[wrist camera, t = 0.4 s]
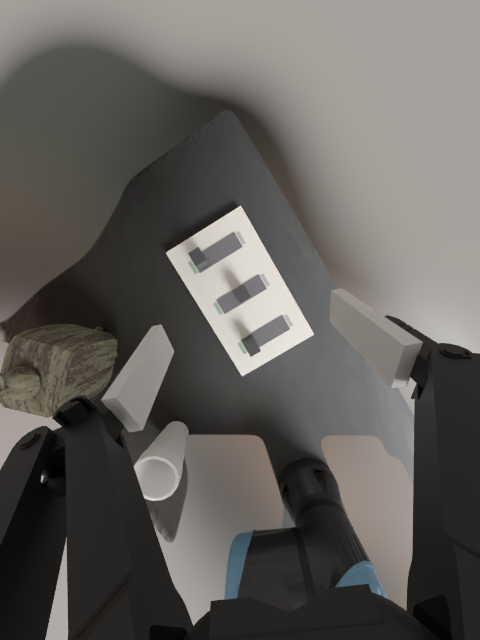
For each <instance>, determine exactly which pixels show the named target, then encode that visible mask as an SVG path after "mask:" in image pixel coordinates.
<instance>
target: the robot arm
mask: <svg viewBox="0 0 480 640" xmlns="http://www.w3.org/2000/svg"><path fill="white" fill-rule="evenodd" d="M330 323H331V324H332V325H333V326H334V327H335V328H336V329H337V330H338V331H339V332H340V334H341V335H342V336H343V337H344V338H345V339H346V340H347V341H348V342H349V343H350V344H351V345H352V347H353V348H354V349H355V350H356V351H357V352H358V353H359V354H360V355H361V356H362V357H363V358H364V360H365V361H366V362H367V363H368V364H369V365H370V366H371V367H372V368H373V369H374V370H375V371H376V373H377V374H378V375H379V376H380V377H381V378H382V379H383V380H384V381H385V382H386V383H387V384H388V386H389V387H390V388H397V387H402V386H407V384H408V381H409V379H410V377H411V378H412V379H413V380H414V381H415V382H416V383H417V384H416V387H415V389H414V392H413V394H412V397H411V398H412V399H414V398H415V419H414V496H413V497H414V498H413V500H414V501H413V555H412V562H411V566H410V570H409V576H408V588H407V611H406V610H404V609H403V608H402V607H400V606H398V605H397V604H395V603H394V602H392V601H391V600H389V599H387V596H386V594H385V592H384V590H383V587H382V585H381V583H380V581H379V579H378V577H377V574H376V570H375V568H374V566H373V564H372V563H371V562H370V560H369V558H368V556H367V554H366V552H365V550H364V548H363V546H362V545H361V543H360V541H359V539H358V537H357V535H356V533H355V531H354V529H353V527H352V525H351V523H350V521H349V519H348V518H347V516H346V514H345V512H344V510H343V506H342V501H341V497H340V492H339V487H338V484H337V481H336V479H335V478H334V475H333V474H332V472H331V470H330V469H329V468H328V467H327V466H326V465H325V464H323V463H321V462H319V461H316V460H311V459H305V460H300V461H297V462H295V463H293V464H291V465H290V466H289V467H287V468H286V470H285V471H284V472H283V474H282V476H281V478H280V483H279V489H280V494H281V499H282V502H283V504H284V506H285V508H286V510H287V511H288V513H289V515H290V517H291V519H292V520H293V522H294V524H295V526H296V527H294V528H281V529H271V530H258V531H256V530H252V531H250V532H245V533H239V534H237V535H236V536H235V537H234V539H233V541H232V544H231V548H230V552H229V558H228V565H227V574H226V585H225V600H217V601H211V608H210V611H209V612H207V613H206V614H205V615H204V616H203V617H202V618H201V619H199V620H198V622H197V623H196V624H195V625H194V626H193V624H192V622H191V619H190V616H189V613H188V611H187V608H186V606H185V604H184V602H183V600H182V598H181V596H180V595H179V593H178V592H177V590H176V589H175V587H174V584H173V582H172V579H171V577H170V574H169V571H168V568H167V565H166V562H165V559H164V556H163V553H162V550H161V547H160V544H159V541H158V538H157V536H156V532H155V529H154V526H153V523H152V520H151V517H150V514H149V511H148V508H147V505H146V502H145V499H144V496H143V493H142V490H141V487H140V484H139V481H138V478H137V475H136V472H135V469H134V466H133V463H132V460H131V457H130V454H129V451H128V449H127V446H126V443H125V440H124V437H123V435H122V434H121V431H122V429H123V427H125V428H126V429H127V430H128V431H129V432H134V431H140V430H143V428H144V426H145V423H146V421H147V418H148V416H149V413H150V411H151V408H152V406H153V403H154V401H155V398H156V396H157V393H158V391H159V388H160V386H161V383H162V381H163V379H164V376H165V374H166V371H167V369H168V366H169V364H170V361H171V359H172V356H173V354H174V350H173V348H172V346H171V343H170V341H169V339H168V337H167V335H166V333H165V331H164V329H163V327H162V325H156V326H152V327H151V328H150V330H149V331H148V333H147V334H146V336H145V337H144V338H143V340H142V341H141V343H140V344H139V346H138V347H137V349H136V350H135V351H134V353H133V354H132V356H131V357H130V359H129V360H128V362H127V363H126V364H125V366H122V367H121V368H120V369H119V370H118V371H117V372H115V374H114V375H113V376H112V378H111V379H110V381H109V382H108V383H107V385H106V387H105V388H104V389H103V390H102V392H101V393H100V394H99V396H98V397H97V399H96V400H95V401H94V403H92V402H91V401H90V400H89V399H88V398H87V397H86V396H85V395H80V396H76V397H74V398H72V399H70V400H68V401H67V402H65V403H64V404H63V405H62V406H61V407H59V408H58V409H57V411H56V412H55V413H54V415H53V419H54V420H55V421H56V422H58V423H59V424H60V425H61V426H62V427H61V428H58V429H56V430H54V431H52V430H51V429H49V428H48V427H47V426H42V427H39V428H36V429H34V430H32V431H31V432H29V433H27V434H26V435H25V436H23V437H22V438H21V439H20V440H19V441H18V442H17V443H16V445H15V446H14V447H13V448H12V450H11V452H10V454H9V456H8V457H7V459H6V461H5V463H4V465H3V466H2V468H1V470H0V640H45V637H46V633H47V628H48V623H49V618H50V613H51V609H52V604H53V599H54V594H55V590H56V585H57V580H58V575H59V570H60V565H61V561H62V555H63V551H64V545H65V541H66V537H67V581H68V640H480V354H477V353H472V352H470V351H469V350H467V349H465V348H462V347H460V346H457V345H453V344H446V343H439V344H438V343H436V342H435V341H433V340H432V339H430V338H428V337H427V336H425V335H423V334H422V333H420V332H419V331H417V330H416V329H413V328H412V327H411V326H409V325H406V323H404V322H403V321H401V320H400V319H397V318H394V317H391V316H383V315H381V314H380V313H378V312H377V311H375V310H374V309H372V308H371V307H369V306H368V305H366V304H365V303H363V302H362V301H360V300H359V299H357V298H356V297H354V296H353V295H351V294H350V293H348V292H347V291H345V290H344V289H342V288H340V289H335V290H331V305H330ZM41 475H43V476H44V479H43V482H42V483H41Z"/></svg>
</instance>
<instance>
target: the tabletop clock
mask: <svg viewBox="0 0 480 640" xmlns="http://www.w3.org/2000/svg"><path fill="white" fill-rule="evenodd" d="M102 331H103V327H101V326H98V327H96V328H95V329H91V328H87V327H83V326H79V325H75V324H56V325H49V326H44V327H38V328H34V329H30V330H27V331H24V332H22V333H20V334H18V335H15V336H14V337H13V339H12V340H11V342H10V344H9V346H8V348H7V350H6V354H5V357H4V362H3V365H2V369H1V373H0V403H1V404H2V406H3V407H6V408H10V409H14V410H18V411H22V412H27V413H31V414H35V415H39V416H43V417H51V416H53V415H54V413H55V412H56V411H57V409H58V408H59V407H61V406H62V405H63V404H64V403H65V402H67V401H68V400H70V399H72V398H74V397H76V396H80V395H85V396H86V397H87V398H88V399H89V400H90V399H91V398H93V397H94V396H96V395H97V394H98V393H100V392H101V391H102V390H103V389H104V388H105V387H106V385H107V383H108V382H109V381H110V379H111V375H112V371H113V367H114V363H115V358H116V357H117V356H118V353H117V345H118V343H117V340H116V338H115V337H114V336H113V335H112V334H110V333H106V332H102Z"/></svg>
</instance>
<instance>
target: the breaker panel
mask: <svg viewBox="0 0 480 640" xmlns="http://www.w3.org/2000/svg"><path fill="white" fill-rule="evenodd" d="M197 247H199V248H200V250H201V251H202V253H203V254H204V256H205V258H206V259H207V261H208V263H209V264H210V265H208V266H206V267H205V268H203V269H202V270H199V269H198V268H197V267H196V266H195V264H194V263H193V261H192V259H191V258H190V256H189V254H188V253H189V252H191V251H192V250H194V249H196V248H197ZM166 254H167V256H168V258H169V259H170V261H171V262H172V264H173V266H174V267H175V269H176V270H177V272H178V274H179V275H180V277H181V279H182V280H183V282H184V283H185V285H186V287H187V288H188V290H189V291H190V293H191V295H192V296H193V298H194V300H195V301H196V303H197V304H198V306H199V308H200V309H201V311H202V312H203V314H204V316H205V317H206V319H207V321H208V322H209V324H210V325H211V327H212V329H213V330H214V332H215V333H216V335H217V337H218V338H219V340H220V342H221V343H222V345H223V346H224V348H225V350H226V351H227V353H228V354H229V356H230V358H231V359H232V361H233V363H234V364H235V366H236V367H237V369H238V371H239V372H240V374H241V375H242V376H244V375H246V374H247V373H249V372H251V371H252V370H254V369H256V368H258V367H259V366H261V365H263V364H264V363H266V362H268V361H270V360H271V359H273V358H275V357H276V356H278V355H280V354H282V353H283V352H285V351H287V350H288V349H290V348H292V347H294V346H295V345H297V344H299V343H300V342H302V341H304V340H305V339H307V338H309V337H311V336H312V335H314V333H313V332H312V330H311V328H310V326H309V325H308V323H307V321H306V319H305V318H304V316H303V314H302V312H301V311H300V309H299V307H298V305H297V304H296V302H295V300H294V298H293V296H292V295H291V293H290V291H289V289H288V288H287V286H286V284H285V282H284V281H283V279H282V277H281V275H280V274H279V272H278V270H277V268H276V267H275V265H274V263H273V261H272V260H271V258H270V256H269V254H268V253H267V251H266V249H265V247H264V246H263V244H262V242H261V240H260V238H259V237H258V235H257V233H256V231H255V230H254V228H253V226H252V224H251V223H250V221H249V219H248V217H247V216H246V214H245V212H244V210H243V209H242V207H241V206H239V207H238V208H236V209H235V210H233V211H232V212H230V213H228V214H227V215H225V216H224V217H222V218H220V219H219V220H217V221H216V222H214V223H212V224H211V225H209V226H208V227H206V228H204V229H203V230H201V231H200V232H198V233H196V234H195V235H193V236H192V237H190V238H188V239H187V240H185V241H184V242H182V243H180V244H179V245H177V246H176V247H174V248H172V249H171V250H169V251H168V252H166ZM242 284H244V286H245V288H246V289H247V291H248V293H249V294H250V296H251V297H249V298H248V299H246V300H244V301H243V302H241V303H240V302H239V300H238V298H237V297H236V295H235V293H234V292H233V290H234V289H236V288H238V287H239V286H241V285H242ZM250 336H253V337H254V339H255V341H256V342H257V344H258V346H259V348H260V350H261V351H260V352H259V353H257V354H255V355H253V356H252V357H251V356H250V355H249V353H248V351H247V350H246V348H245V346H244V344H243V341H244V340H245V339H247V338H249V337H250Z"/></svg>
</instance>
